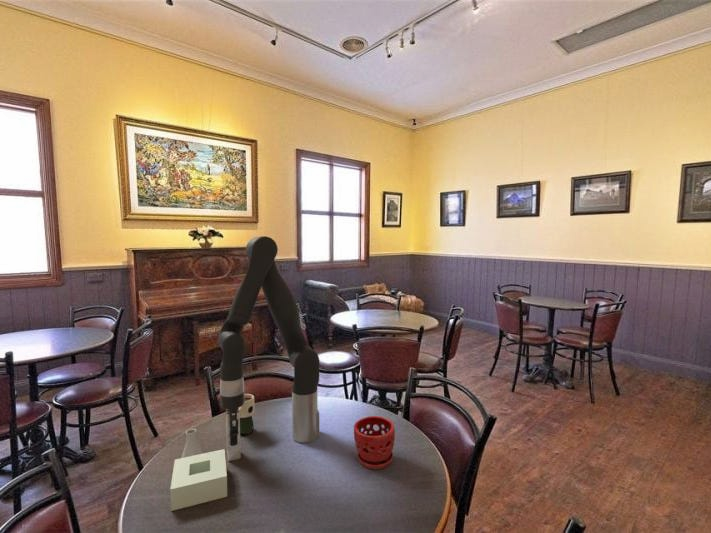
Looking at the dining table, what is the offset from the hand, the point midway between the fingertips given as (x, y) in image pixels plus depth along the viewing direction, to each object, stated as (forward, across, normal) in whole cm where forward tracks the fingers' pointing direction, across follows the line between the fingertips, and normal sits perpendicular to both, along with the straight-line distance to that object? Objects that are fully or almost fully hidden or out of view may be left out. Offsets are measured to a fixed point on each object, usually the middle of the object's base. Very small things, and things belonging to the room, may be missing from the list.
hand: (233, 441), depth 118 cm
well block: (+5, -12, +10) cm, 16 cm away
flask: (+6, +3, +13) cm, 14 cm away
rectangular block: (+5, 0, 0) cm, 5 cm away
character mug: (+5, +15, -5) cm, 17 cm away
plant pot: (+6, -20, -42) cm, 47 cm away
